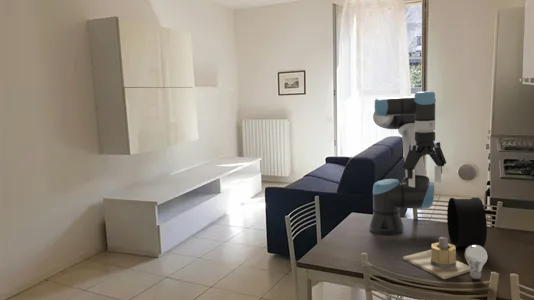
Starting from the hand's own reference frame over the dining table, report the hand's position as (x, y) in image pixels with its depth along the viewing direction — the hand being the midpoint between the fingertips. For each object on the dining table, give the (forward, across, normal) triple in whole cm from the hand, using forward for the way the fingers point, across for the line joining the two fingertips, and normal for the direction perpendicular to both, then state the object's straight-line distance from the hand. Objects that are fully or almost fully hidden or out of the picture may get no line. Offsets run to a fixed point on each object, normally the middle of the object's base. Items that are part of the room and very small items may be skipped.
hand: (425, 184), depth 168 cm
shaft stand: (+27, -8, -14) cm, 31 cm away
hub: (+24, -8, -17) cm, 30 cm away
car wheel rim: (+27, +15, -6) cm, 32 cm away
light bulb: (+27, -6, -29) cm, 40 cm away
